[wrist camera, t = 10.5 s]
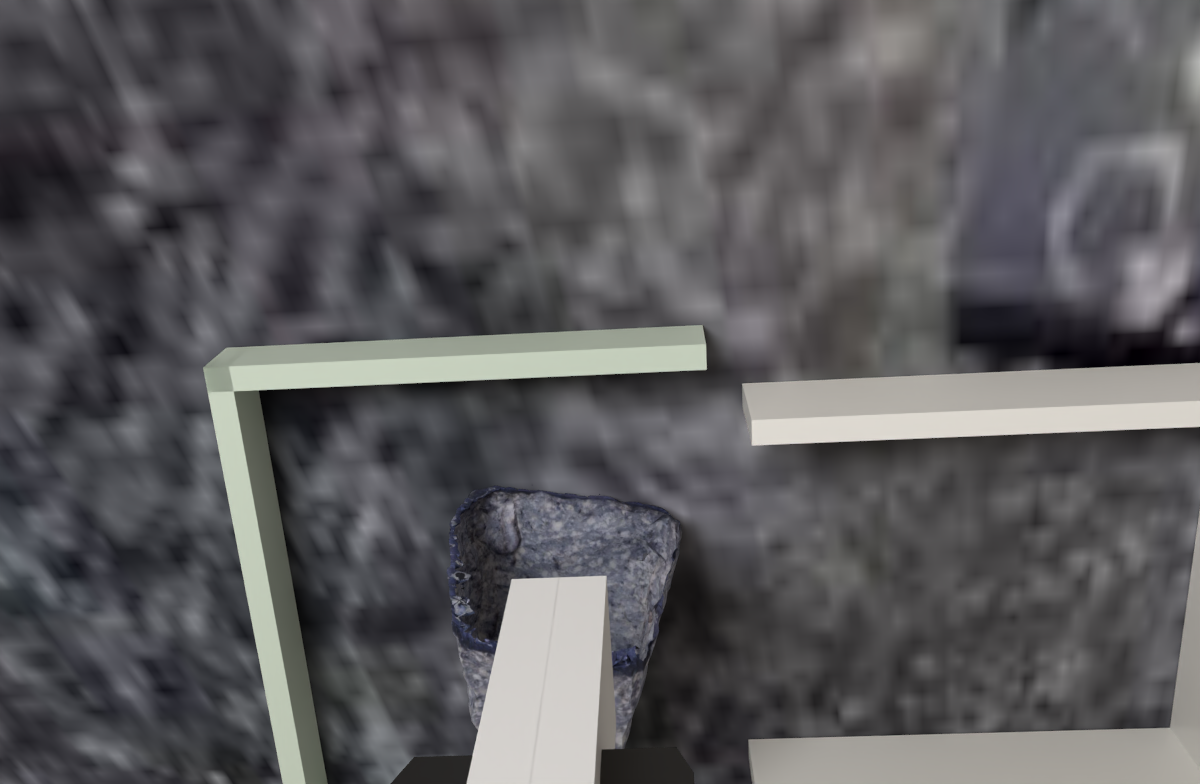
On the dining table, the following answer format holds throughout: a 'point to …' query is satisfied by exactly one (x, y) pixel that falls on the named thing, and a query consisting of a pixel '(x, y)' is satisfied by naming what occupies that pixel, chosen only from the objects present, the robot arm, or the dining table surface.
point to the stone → (560, 575)
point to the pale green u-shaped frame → (361, 364)
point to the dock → (983, 408)
